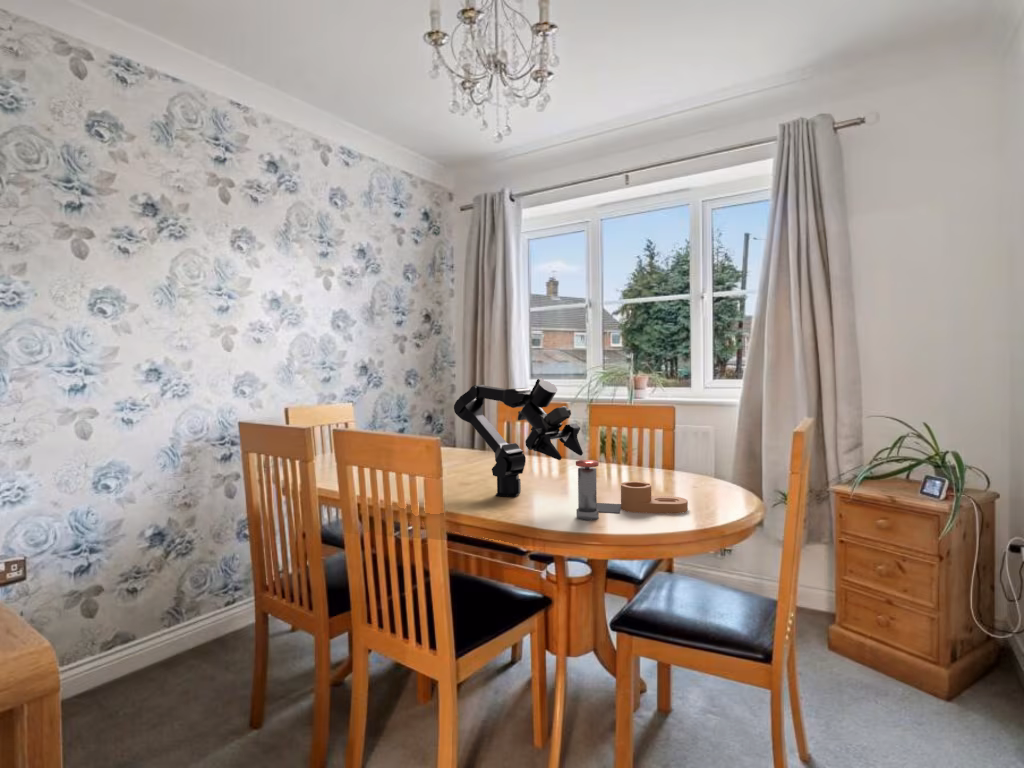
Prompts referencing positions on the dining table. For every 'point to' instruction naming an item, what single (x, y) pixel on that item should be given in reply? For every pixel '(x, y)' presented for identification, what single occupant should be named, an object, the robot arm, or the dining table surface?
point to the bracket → (649, 500)
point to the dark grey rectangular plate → (608, 507)
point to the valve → (587, 490)
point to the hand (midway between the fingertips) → (571, 456)
